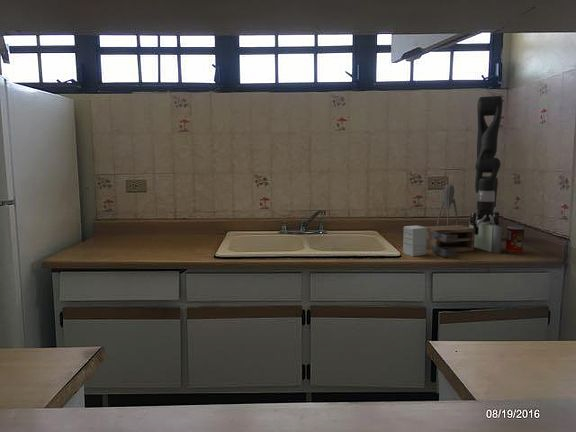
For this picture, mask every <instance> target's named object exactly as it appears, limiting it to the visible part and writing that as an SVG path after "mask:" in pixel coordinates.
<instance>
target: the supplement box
mask: <svg viewBox="0 0 576 432" xmlns="http://www.w3.org/2000/svg"><path fill="white" fill-rule="evenodd" d="M425 227H426V226H421V225H406V226H403V237H402V238H403V243H402V245H403V246H402V253H403V254H404V255H408V256H410V257H419V256H426V255H427V254H426V253H427V251H426V250H427V249H426V228H425Z"/></svg>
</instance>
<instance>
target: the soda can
mask: <svg viewBox="0 0 576 432" xmlns="http://www.w3.org/2000/svg"><path fill="white" fill-rule="evenodd" d="M524 236H525V228H524V226H521V225H512V224H511V225H508V226H507V228H506V238H505V239H506V240H505V241H506V242H505V243H506V244H505V250H506V253H508V254H514V255H521V253H522V252H523V249H524V239H525V238H524Z"/></svg>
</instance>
